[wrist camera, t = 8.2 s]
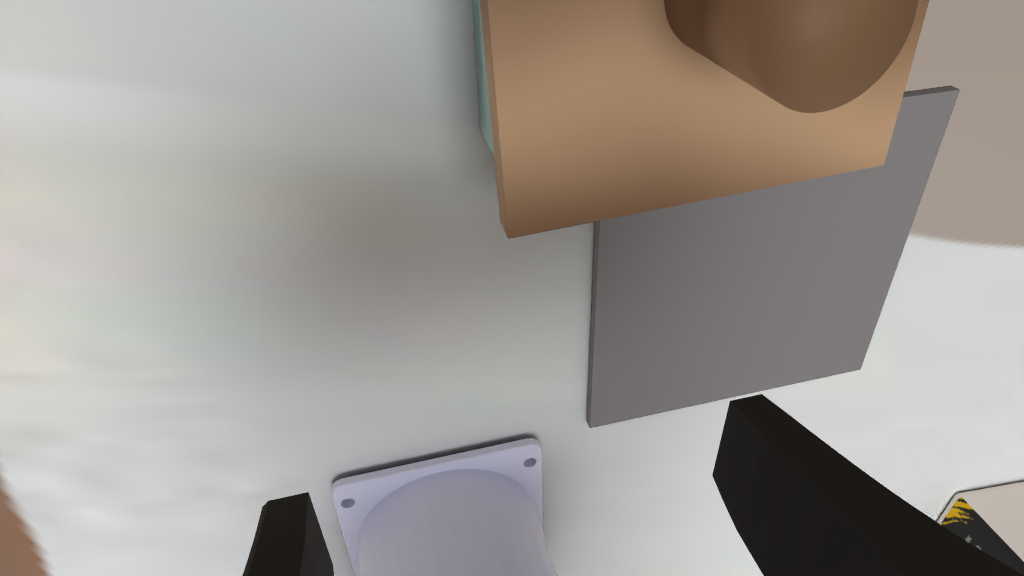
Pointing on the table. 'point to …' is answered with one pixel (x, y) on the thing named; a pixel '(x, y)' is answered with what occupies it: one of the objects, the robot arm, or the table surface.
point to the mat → (754, 280)
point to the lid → (685, 99)
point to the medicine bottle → (990, 521)
